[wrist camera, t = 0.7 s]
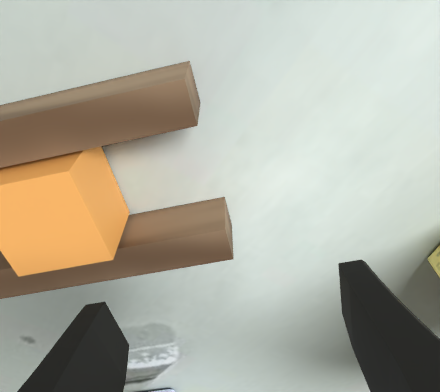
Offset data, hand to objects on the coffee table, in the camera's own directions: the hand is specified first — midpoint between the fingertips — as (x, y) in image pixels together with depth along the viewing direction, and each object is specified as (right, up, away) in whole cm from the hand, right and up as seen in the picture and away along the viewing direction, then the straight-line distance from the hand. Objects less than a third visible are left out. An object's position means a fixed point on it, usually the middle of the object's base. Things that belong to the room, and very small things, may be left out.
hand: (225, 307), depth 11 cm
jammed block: (-8, +4, +10) cm, 13 cm away
